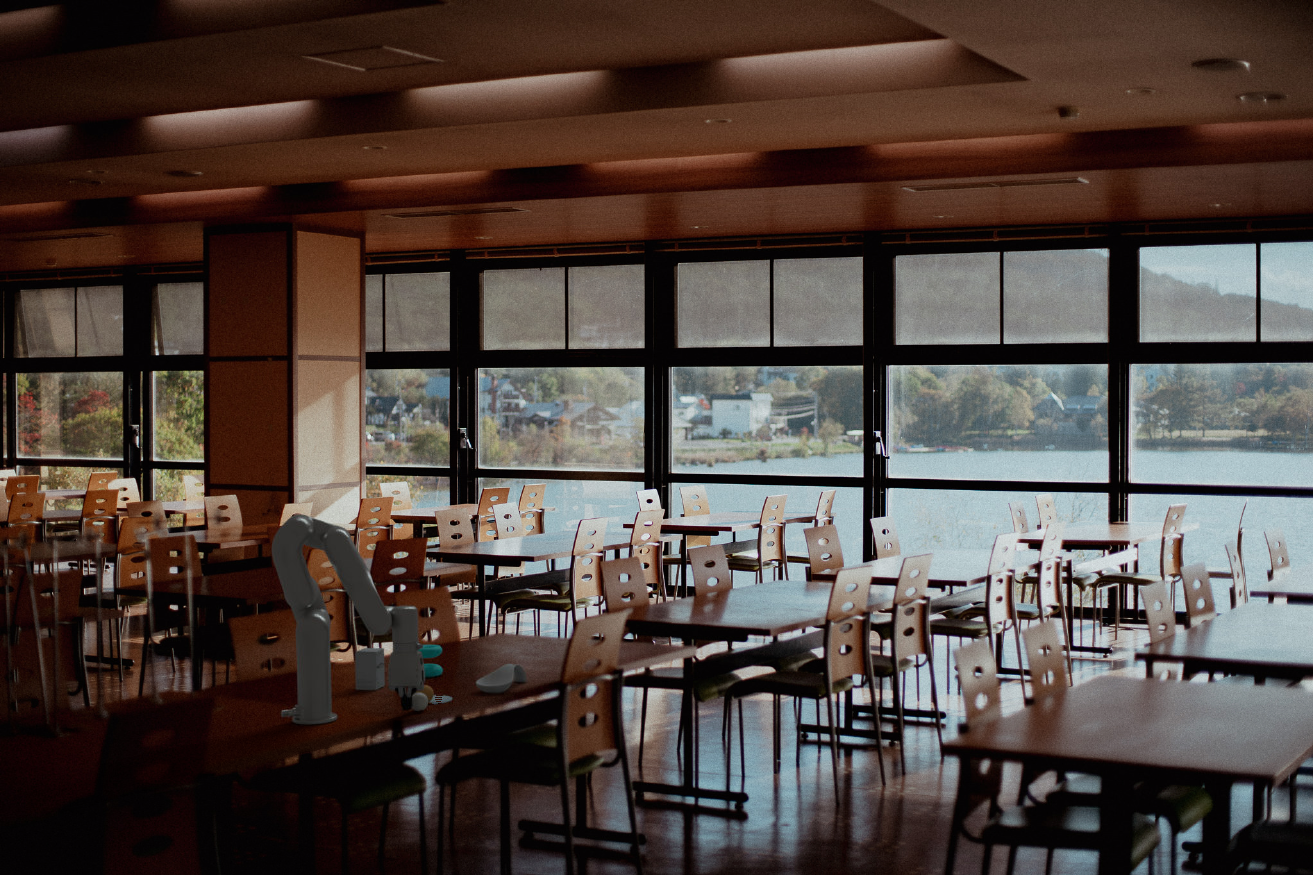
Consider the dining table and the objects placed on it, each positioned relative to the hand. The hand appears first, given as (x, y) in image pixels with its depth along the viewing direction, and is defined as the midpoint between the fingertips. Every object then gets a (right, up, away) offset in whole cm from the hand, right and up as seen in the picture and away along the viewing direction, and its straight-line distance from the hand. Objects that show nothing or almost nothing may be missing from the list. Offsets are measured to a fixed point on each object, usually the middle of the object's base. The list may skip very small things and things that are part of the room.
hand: (406, 709), depth 396 cm
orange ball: (+2, +1, +17) cm, 17 cm away
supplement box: (-20, -2, +43) cm, 47 cm away
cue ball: (+3, +1, +5) cm, 6 cm away
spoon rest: (+24, -1, +38) cm, 45 cm away
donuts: (-5, -1, +64) cm, 64 cm away
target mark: (+3, -1, +21) cm, 21 cm away
